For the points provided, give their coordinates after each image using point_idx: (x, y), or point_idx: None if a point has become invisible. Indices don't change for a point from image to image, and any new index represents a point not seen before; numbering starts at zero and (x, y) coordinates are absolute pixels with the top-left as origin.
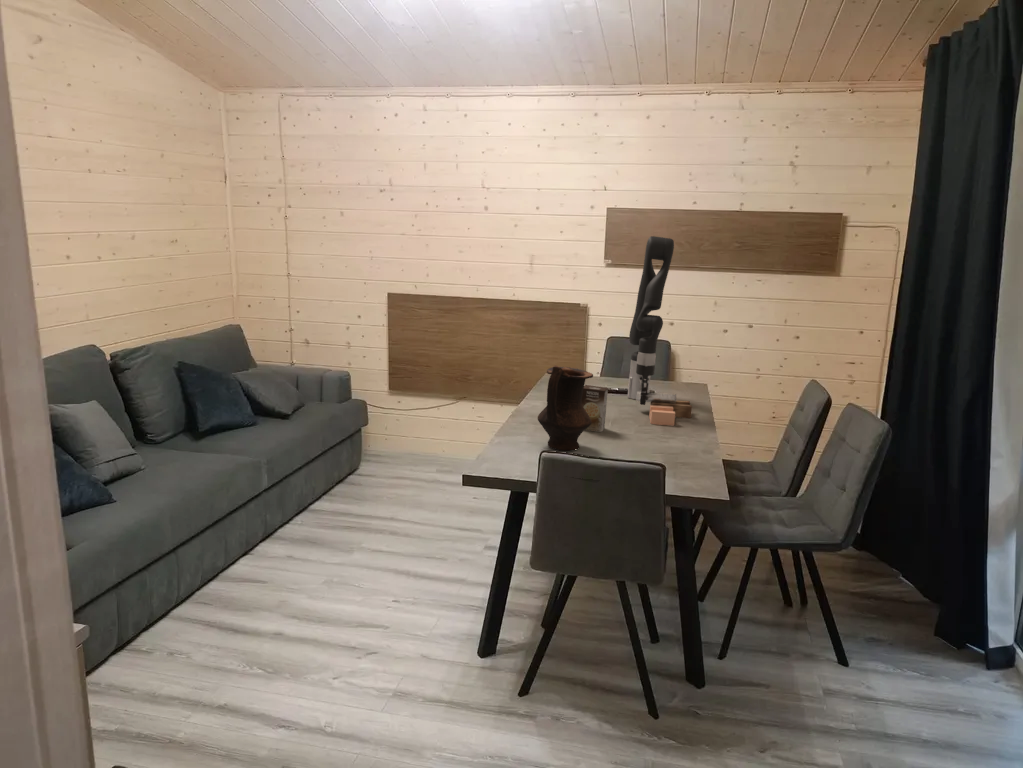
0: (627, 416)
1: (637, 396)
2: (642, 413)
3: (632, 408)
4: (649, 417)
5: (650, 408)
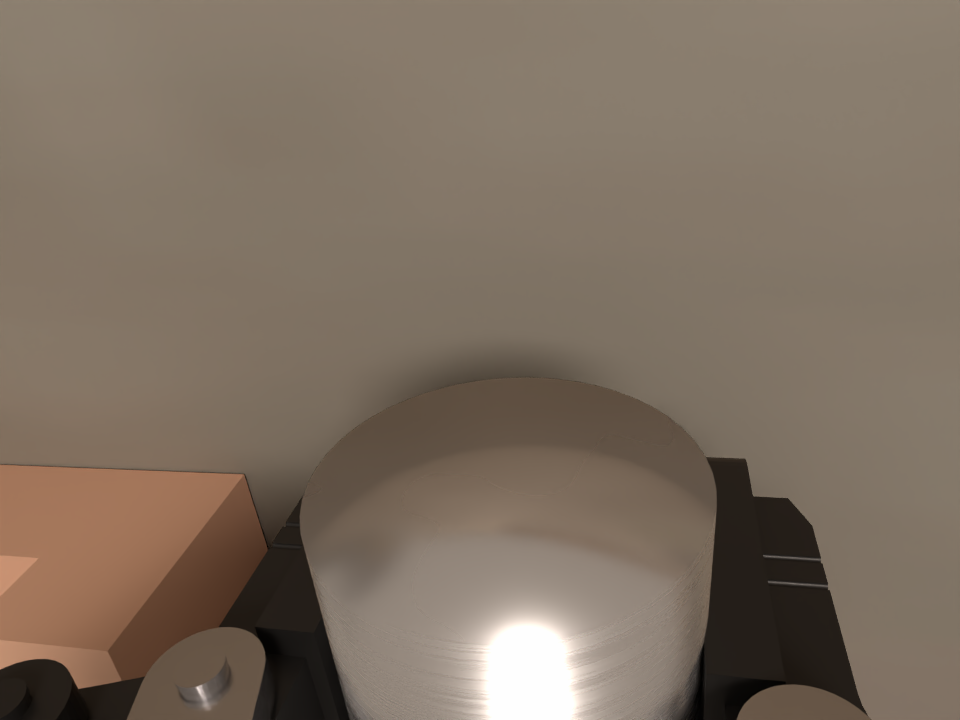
0: (27, 74)
1: (308, 504)
2: (439, 382)
3: (867, 170)
4: (171, 476)
5: (14, 604)
